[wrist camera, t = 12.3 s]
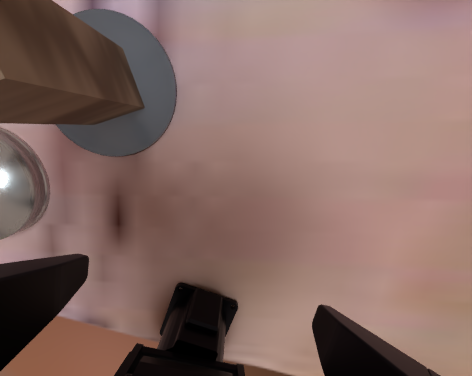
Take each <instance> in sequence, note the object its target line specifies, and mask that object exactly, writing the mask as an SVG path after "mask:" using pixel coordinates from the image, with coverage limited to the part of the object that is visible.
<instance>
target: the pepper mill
mask: <svg viewBox="0 0 472 376" xmlns="http://www.w3.org/2000/svg"><path fill="white" fill-rule="evenodd" d="M143 108H145V106H144V103H143V101H142V98H141V96H140V93H139V90H138V88H137V85H136V82H135V80H134V77H133V74H132V72H131V69H130V66H129V64H128V61H127V58H126V56H125V53H124V50H123V48H122V47H120V46H119V45H117V44H116V43H114V42H113V41H111V40H110V39H108V38H107V37H105V36H104V35H102V34H101V33H99V32H98V31H96V30H95V29H93V28H92V27H91V26H89V25H88V24H86V23H85V22H83V21H82V20H80V19H79V18H77V17H76V16H74V15H73V14H71V13H70V12H68V11H67V10H65V9H64V8H62V7H61V6H59V5H58V4H56V3H55V2H53V1H52V0H0V123H23V124H69V125H96V124H99V123H102V122H105V121H108V120H111V119H114V118H117V117H120V116H123V115H126V114H128V113H131V112H134V111H137V110H140V109H143Z"/></svg>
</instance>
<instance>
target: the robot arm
mask: <svg viewBox="0 0 472 376" xmlns="http://www.w3.org/2000/svg"><path fill="white" fill-rule="evenodd" d="M88 265H89V257H88V256H87V255H82V254H71V255H63V256H56V257H49V258H41V259H34V260H26V261H19V262H12V263H4V264H0V371H1V370H2V369H3V368H4V367H5V366H6V365H7V364H8V363H9V362H10V361H11V360H12V359H13V358H14V357H15V356H16V355H17V354H18V353H19V352H20V351H21V350H22V349H23V348H24V347H25V346H26V345H27V344H28V343H29V342H30V341H31V340H32V339H34V338H35V337H36V335H37V334H38V333H39V332H41V331H42V329H43V328H44V327H45V326H47V324H49V322H50V321H52V320H53V318H55V317H56V316H57V314H58V313H59V312H60V311H61V310H62V309H63V308H64V307H65V305H66V304H67V303H68V302H69V301H70V299H71V298H72V297H73V296H74V294H75V293H76V292H77V291H78V290H79V288H80V287H81V286H82V285H83V284H84V282H85V281H86V279H87V276H88ZM179 288H182V289H179ZM231 305H234V307H233V306H231ZM237 309H238V303H237V301H235V300H232V299H229V298H226V297H223V296H220V295H217V294H214V293H211V292H208V291H205V290H202V289H199V288H196V287H193V286H190V285H187V284H184V283H178V284H177V286H176V288H175V291H174V294H173V296H172V299H171V302H170V305H169V308H168V310H167V313H166V316H165V319H164V322H163V324H162V327H161V330H160V335H161V336H162V337H161V340H160V342H159V345H158V348H157V349H155V348H150V347H145V346H143V344H138V343H137V344H136V345H135V347H134V348H133V350H132V351H131V352H129V354H128V355H127V357H126V358H125V360H124V361H123V363H122V364H121V366H120V367H119V369H118V370H117V372H116V373H115V375H114V376H245V372H244V365H242V364H236V365H235V364H230V363H225V362H223V355H224V343H225V336H226V334H227V332H228V330H229V327H230V325H231V323H232V321H233V318H234V316H235V314H236V311H237ZM312 330H313V334H314V338H315V342H316V346H317V350H318V354H319V359H320V362H321V366H322V369H323V372H324V375H325V376H440V375H439V374H437V373H435V372H434V371H432V370H431V369H427V368H426V367H425V366H424V365H422V364H420V363H419V362H417V361H416V360H414V359H412V358H411V357H409V356H408V355H406V354H405V353H403V352H401V351H400V350H398V349H397V348H395V347H393V346H392V345H390V344H389V343H387V342H386V341H384V340H382V339H381V338H379V337H378V336H376V335H374V334H373V333H371V332H370V331H368V330H367V329H365V328H363V327H362V326H360V325H359V324H357V323H355V322H354V321H352V320H351V319H349V318H348V317H346V316H344V315H343V314H341V313H340V312H338V311H337V310H335V309H333V308H332V307H330V306H326V305H319V306H318V308H317V311H316V313H315V316H314V319H313V322H312Z"/></svg>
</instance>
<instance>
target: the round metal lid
mask: <svg viewBox="0 0 472 376" xmlns="http://www.w3.org/2000/svg"><path fill="white" fill-rule="evenodd" d="M49 196H50V185H49V179H48V176H47V172H46V170H45V168H44V165H43V163H42V162H41V160H40V158H39V157H38V155H37V154H36V153H35V151H34V150H33V149H32V148H31V147H30V146H29V145H28V144H27V143H26V142H25V141H24V140H22V139H21V138H19V137H18V136H17V135H15V134H13V133H11V132H10V131H8V130H5V129H3V128H0V240H1V239H3V238H6V237H8V236H10V235H13V234H15V233H17V232H19V231H21V230H23V229H26V228H28V227H30V226H31V225H33V224H34V223H36V222H37V221H38V220H39V219H40V218H41V217H42V215H43V214H44V212H45V210H46V208H47V206H48V202H49Z"/></svg>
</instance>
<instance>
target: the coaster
mask: <svg viewBox="0 0 472 376" xmlns="http://www.w3.org/2000/svg"><path fill="white" fill-rule="evenodd" d="M73 15H74V16H76V17H77V18H79V19H80V20H82V21H83V22H85V23H86V24H88V25H89V26H91V27H92V28H93V29H95V30H96V31H98V32H99V33H101V34H102V35H104V36H105V37H107V38H108V39H110V40H111V41H113V42H114V43H116V44H117V45H119V46H120V47H122V48H123V50H124V53H125V56H126V58H127V61H128V64H129V66H130V69H131V72H132V74H133V77H134V80H135V82H136V85H137V88H138V90H139V93H140V96H141V98H142V101H143V103H144V106H145V108H143V109H140V110H137V111H134V112H131V113H128V114H126V115H123V116H120V117H117V118H114V119H111V120H108V121H105V122H102V123H99V124H96V125H69V124H56V126H57V127H58V128H59V129H60V130H61V131H62V133H64V134H65V135H66V136H67V137H68V138H69V139H70V140H72V141H73V142H74V143H76V144H77V145H79V146H80V147H82V148H84V149H86V150H88V151H91V152H93V153H97V154H100V155H106V156H126V155H130V154H134V153H137V152H140V151H142V150H144V149H146V148H148V147H150V146H151V145H152V144H154V143H155V142H156V141H157V140H158V139H159V138H160V137H161V136H162V135H163V133H164V132H165V131H166V129H167V128H168V126H169V124H170V122H171V119H172V117H173V114H174V110H175V106H176V97H177V88H176V80H175V75H174V71H173V67H172V65H171V62H170V60H169V57H168V56H167V54H166V52H165V50H164V48H163V47H162V46H161V44H160V43H159V41H158V40H157V39H156V38H155V37H154V36H153V35H152V34H151V33H150V31H149V30H147V29H146V28H145V27H144V26H143V25H142V24H140V23H139V22H137V21H136V20H134V19H133V18H131V17H129V16H126V15H124V14H122V13H119V12H116V11H112V10H106V9H91V10H85V11H81V12H78V13H75V14H73Z"/></svg>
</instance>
